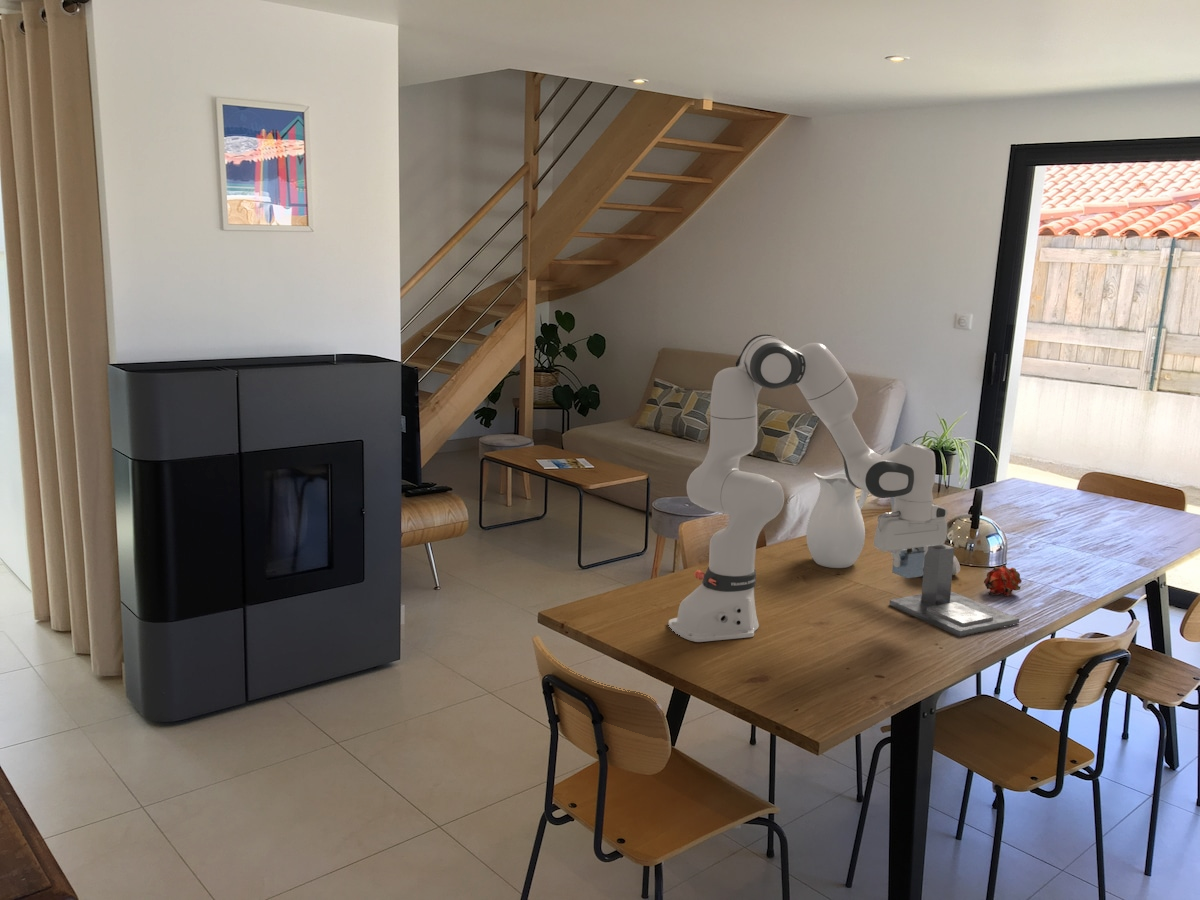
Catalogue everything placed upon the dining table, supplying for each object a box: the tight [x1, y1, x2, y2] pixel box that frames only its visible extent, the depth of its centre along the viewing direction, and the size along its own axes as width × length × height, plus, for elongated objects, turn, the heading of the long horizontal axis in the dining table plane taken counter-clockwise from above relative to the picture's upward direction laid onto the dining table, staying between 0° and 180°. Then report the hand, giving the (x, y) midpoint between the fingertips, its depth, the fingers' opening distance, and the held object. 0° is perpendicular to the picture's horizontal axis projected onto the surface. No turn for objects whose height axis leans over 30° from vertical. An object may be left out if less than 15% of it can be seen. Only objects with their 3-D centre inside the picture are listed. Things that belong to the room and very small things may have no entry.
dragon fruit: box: [983, 564, 1022, 597], centre depth 259 cm, size 8×8×12 cm
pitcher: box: [806, 472, 869, 569], centre depth 285 cm, size 24×17×28 cm
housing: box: [891, 548, 925, 579], centre depth 232 cm, size 5×5×8 cm
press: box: [889, 543, 1020, 638], centre depth 242 cm, size 20×24×16 cm
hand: (907, 565), depth 232 cm, fingers closed on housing, 5 cm apart
